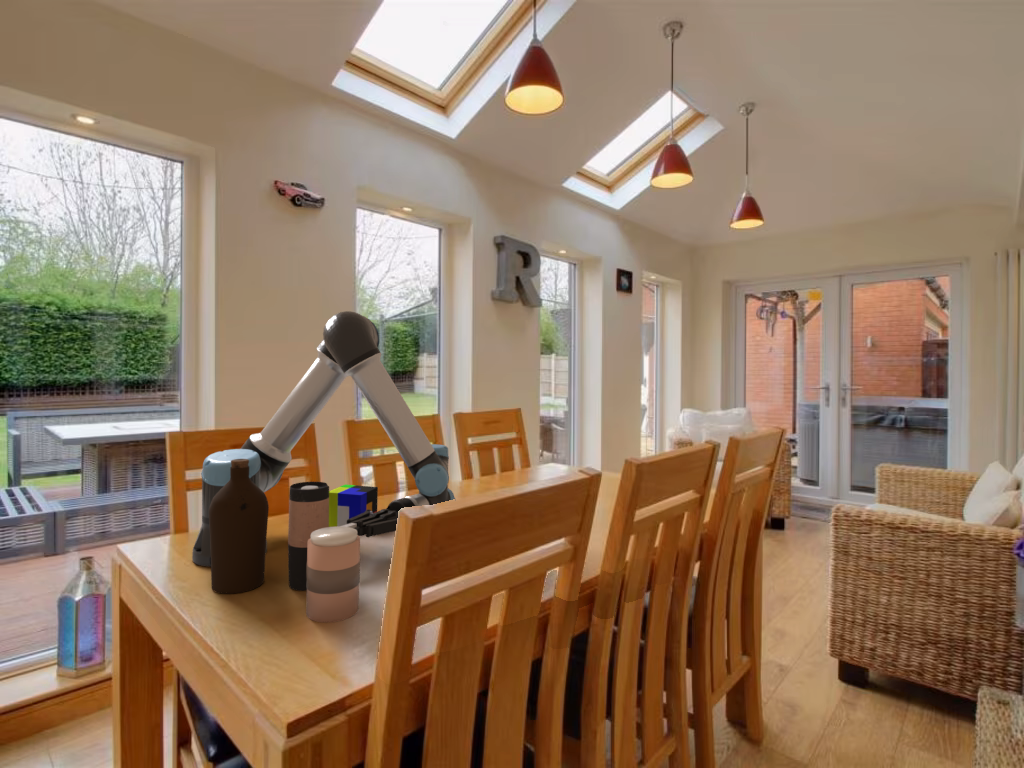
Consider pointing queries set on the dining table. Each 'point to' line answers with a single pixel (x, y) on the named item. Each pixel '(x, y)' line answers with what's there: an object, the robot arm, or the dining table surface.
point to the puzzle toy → (350, 503)
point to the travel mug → (304, 526)
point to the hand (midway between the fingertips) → (330, 536)
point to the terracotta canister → (333, 574)
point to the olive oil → (238, 533)
